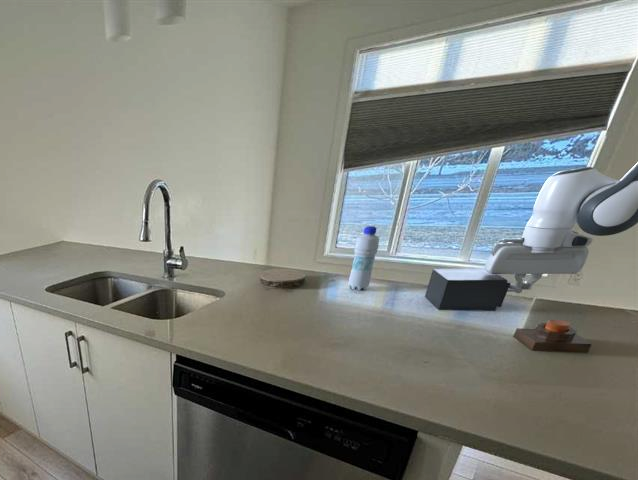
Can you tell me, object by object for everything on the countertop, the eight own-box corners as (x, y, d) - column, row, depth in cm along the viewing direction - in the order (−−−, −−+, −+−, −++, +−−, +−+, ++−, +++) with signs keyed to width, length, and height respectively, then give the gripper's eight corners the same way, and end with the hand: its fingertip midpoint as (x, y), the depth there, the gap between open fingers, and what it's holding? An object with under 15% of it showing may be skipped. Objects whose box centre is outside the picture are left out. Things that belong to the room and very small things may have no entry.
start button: (560, 327, 92) (563, 319, 91) (570, 333, 89) (574, 325, 88) (540, 326, 93) (544, 319, 92) (550, 332, 90) (553, 325, 89)
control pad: (564, 338, 95) (572, 322, 93) (587, 353, 88) (596, 336, 86) (512, 336, 98) (519, 321, 96) (531, 351, 91) (538, 334, 89)
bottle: (371, 291, 132) (385, 227, 122) (348, 291, 134) (361, 228, 124) (366, 285, 138) (380, 223, 128) (345, 285, 140) (356, 224, 130)
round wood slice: (258, 288, 144) (258, 280, 143) (260, 276, 157) (260, 268, 156) (306, 289, 139) (307, 280, 138) (303, 276, 152) (305, 268, 151)
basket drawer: (502, 294, 118) (511, 271, 115) (521, 307, 110) (531, 282, 106) (435, 294, 123) (441, 272, 120) (448, 306, 115) (456, 282, 111)
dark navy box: (476, 297, 121) (487, 268, 117) (495, 310, 111) (507, 280, 107) (424, 296, 125) (432, 268, 120) (438, 309, 115) (447, 280, 111)
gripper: (502, 241, 105) (482, 292, 112) (601, 239, 100) (574, 293, 107) (490, 236, 111) (473, 285, 118) (584, 234, 105) (560, 285, 112)
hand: (522, 289), depth 112 cm, fingers closed
